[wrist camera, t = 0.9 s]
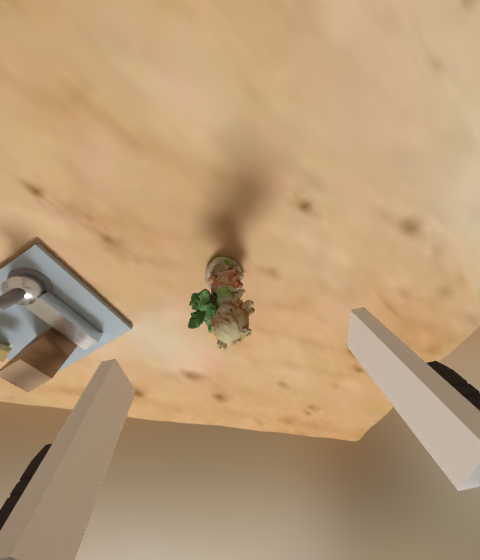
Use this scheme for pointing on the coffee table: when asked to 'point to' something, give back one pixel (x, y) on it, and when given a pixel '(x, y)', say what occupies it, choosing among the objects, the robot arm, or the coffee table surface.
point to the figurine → (223, 303)
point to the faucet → (52, 310)
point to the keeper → (4, 351)
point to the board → (67, 288)
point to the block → (38, 360)
